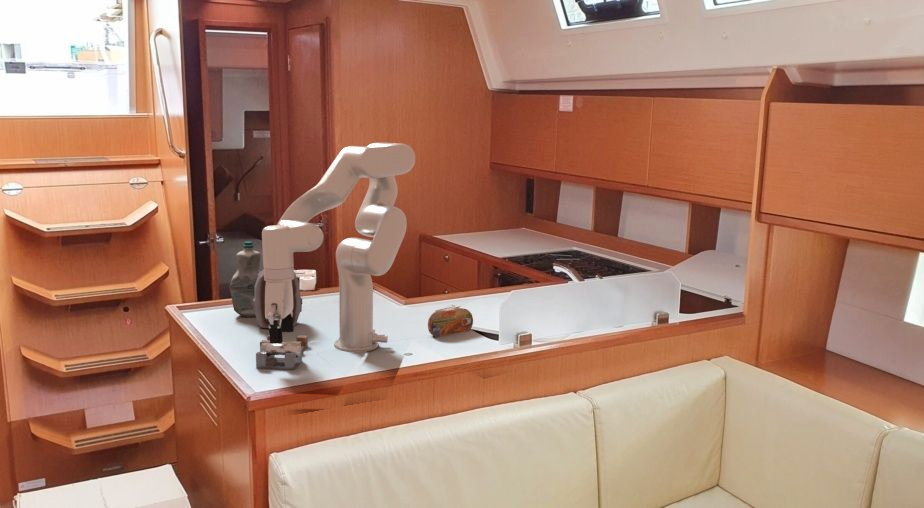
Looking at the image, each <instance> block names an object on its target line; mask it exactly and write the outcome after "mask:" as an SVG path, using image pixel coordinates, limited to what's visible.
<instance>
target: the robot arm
mask: <svg viewBox="0 0 924 508" xmlns="http://www.w3.org/2000/svg"><path fill="white" fill-rule="evenodd" d="M415 163H416V154H415V151H414V150H413V148H412V147H411V146H410V145H408V144H405V143H401V142H400V143H399V142H397V143H396V142H373V143H370V144H368V145H367V146H361V145H350V146H345V147H344V148H343V149H341V151H340V152H338V154H337V156H336V157H335V159H334V160H333V161H332V163H331V164H330V166H329V167H328V169H327V170H326V171H325V173H324V174H323V176H322V177H321V179H320V180H319V182H318V183H317V184H316V185H315V186H314V187H312V188H311V189H309V190H307V191H306V192H305V193H303V194H302V195H301V196H300V197H298V198H297V199H295V200H294V201H293V202H292V203H291V204H290V205H289V206H288V207H287V208H286V210H285V212H284V213H283V214H282V216H281V217H280V219H279V220H278V222H277V224H275V225H274V224H273V225H267V226H265V227H264V228H262V230H261V231H262V232H261V241H262V242H261V243H262V244H261V245H262V261H263V262H262V263H263V265H262V266H263V269H264V280H265V281H266V286H265V318H266V319H268V320H269V321H268V324H269V329H268V335H269V337H270V343H282V342H284V341H283V333H293V332H294V326H293V312H292V310H293V289H292V280H293V279H294V270H295V267H294V266H295V265H294V253H296V252H297V253H299V252H300V253H301V252H302V253H304V252H309V253H310V252H312V251H315V250H318V249H319V247H321V246H322V244H323V241H324V232H323V231H322V229H321V228H320V227H319V226H318V225H316V224H314V223H312V222H309V221H310V220H311V219H313V218H314V217H315V216H317V215H319V214H321V213H324V212H325V211H329V210H332V209H335V208H338V207H339V206H341V205H343V204H344V203H345V201H346V200H347V198H348V197H349V195H350V194H351V192H352V191H353V190H354V187H355V186H356V185H357V183H358V182H359V181H360V179H362V178H363V179H364V178H366V179H369V185H368V187H367V188H368V189H367V191H366V193H365V194H366V195H365V196H364V198H363V201H362V204H361V206H360V207H359V210H358V212H357V215H356V218H355V221H354V227H355V229H356V231H357V232H358V233H359V234H361V235H362V236H365V237H368V238H369V237H370V238H373V239H372V240H371V239H366V238H360V237H347V238H345V239H343V240H342V241H341V242H340V243H339V244H338V246H337V248H336V251H335V261H336V267H337V272H338V282H339V283H338V285H339V288H338V289H339V292H338V293H339V298H338V299H339V301H338V303H339V314H338V315H339V318H338V319H339V326H338V327H339V329H338V330H339V339H336V340H335V341H334V343H333V347H334V348H335V349H337V350H339V351H344V352H350V353H351V352H370V351H373V350H375V349H377V348H378V347H379V343H383V344H384V343H385V344H388V340H389V337H388V335H385V334H381V333H380V334H378V333H376V329H374V324H373V323H374V283H373V280H372V277H373V276H375V277H380V276H383V275H385V274H387V272H388V271H389V270H390V269H391V267H392V265H393V264H394V262H395V259H396V256H397V255H398V252H399V249H400V247H401V245H402V242H403V240H404V238H405V235H406V231H407V226H408V223H407V222H408V221H407V217H406V214H405V212H404V211H403V210H402V209H400V208H399V207H396V206H394V205H395V203H396V199H397V197H398V193H399V192H398V191H399V190H398V183H397V181H396V177H395V176H400V175H405V174H407V173H409V172H410V171H411V170H412V169H413V168H414V166H415ZM276 320H278V323H277V321H276ZM280 327H281V328H280Z"/></svg>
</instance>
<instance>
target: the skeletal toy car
mask: <svg viewBox="0 0 924 508" xmlns="http://www.w3.org/2000/svg"><path fill="white" fill-rule="evenodd" d="M294 272H295V273H296V276H297V278H299V285H300V291H301V290H302V291H312V290H314V289H315V290H316V284H317V271H316V270H315V269H297V270H296V269H294Z"/></svg>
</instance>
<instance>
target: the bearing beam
mask: <svg viewBox="0 0 924 508" xmlns="http://www.w3.org/2000/svg"><path fill="white" fill-rule="evenodd" d="M266 337H267V338H266V340H265V339H262V340H260V342H259V352H261V351H260V349H261V344H262V343H270V337H269V334H268V335H267V336H266ZM308 341H309V340H308V335H298V336H296V340H294V341H289V342H288V341H286V342H285V341H283V342H282V343H274V344H299V345H301V347H302V352H303V351H304V350H306V348H307V347H308V346H309V345H308Z"/></svg>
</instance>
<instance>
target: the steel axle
mask: <svg viewBox="0 0 924 508" xmlns="http://www.w3.org/2000/svg"><path fill="white" fill-rule="evenodd" d="M260 351H261V352H267V355H275V356H285V354H286V353H296V356H300V355H301V345H299V344H274V343H262V344H261V349H260V348H259V352H260Z"/></svg>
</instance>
